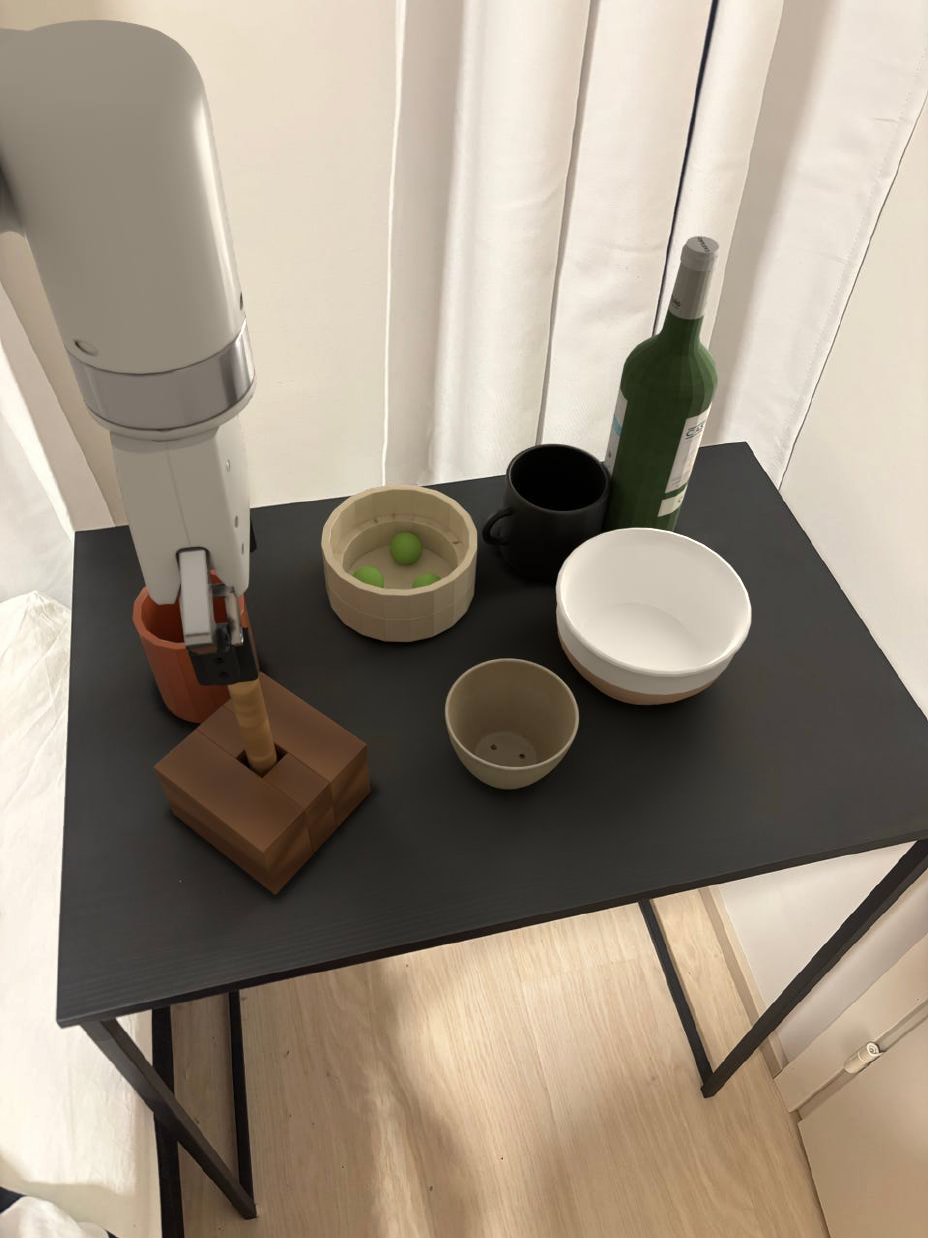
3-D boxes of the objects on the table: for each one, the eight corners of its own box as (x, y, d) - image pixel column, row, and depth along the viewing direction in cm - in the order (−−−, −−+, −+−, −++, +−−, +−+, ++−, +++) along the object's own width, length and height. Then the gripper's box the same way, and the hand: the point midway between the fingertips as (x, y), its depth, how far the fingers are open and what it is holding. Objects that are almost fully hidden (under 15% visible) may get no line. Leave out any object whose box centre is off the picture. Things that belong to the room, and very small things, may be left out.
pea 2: (408, 576, 85) (408, 553, 83) (383, 561, 86) (382, 538, 84) (428, 557, 87) (428, 535, 85) (403, 543, 88) (403, 520, 86)
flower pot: (588, 793, 73) (602, 745, 67) (470, 834, 70) (475, 787, 64) (535, 695, 78) (544, 643, 73) (425, 729, 76) (425, 678, 70)
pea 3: (431, 618, 82) (431, 596, 80) (405, 603, 83) (404, 580, 81) (451, 598, 84) (452, 576, 82) (425, 583, 85) (425, 561, 83)
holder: (275, 895, 66) (262, 852, 61) (173, 814, 70) (153, 767, 65) (370, 791, 72) (367, 744, 67) (271, 721, 76) (260, 670, 70)
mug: (459, 534, 90) (462, 463, 83) (567, 503, 94) (579, 433, 87) (500, 602, 85) (507, 533, 78) (613, 567, 88) (630, 497, 81)
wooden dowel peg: (272, 820, 70) (232, 662, 55) (253, 806, 71) (208, 645, 55) (292, 799, 71) (258, 639, 56) (274, 785, 72) (234, 623, 57)
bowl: (759, 708, 78) (788, 651, 72) (584, 750, 75) (598, 694, 69) (680, 573, 88) (700, 512, 82) (521, 604, 85) (529, 544, 79)
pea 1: (369, 612, 82) (368, 589, 80) (344, 596, 84) (342, 573, 81) (391, 592, 84) (390, 569, 82) (365, 577, 85) (364, 554, 83)
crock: (209, 741, 74) (185, 666, 67) (140, 689, 77) (109, 612, 69) (280, 676, 79) (265, 599, 71) (212, 629, 82) (191, 551, 74)
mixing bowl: (412, 672, 79) (412, 620, 74) (297, 599, 84) (289, 545, 79) (501, 581, 86) (507, 528, 81) (390, 518, 91) (389, 464, 86)
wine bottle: (676, 562, 89) (766, 274, 66) (594, 560, 89) (656, 270, 66) (664, 505, 94) (745, 219, 71) (587, 503, 94) (643, 215, 71)
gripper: (95, 259, 45) (171, 513, 58) (48, 503, 34) (154, 746, 48) (251, 252, 46) (291, 503, 59) (253, 486, 35) (301, 730, 48)
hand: (230, 611), depth 53 cm, fingers open, 9 cm apart
